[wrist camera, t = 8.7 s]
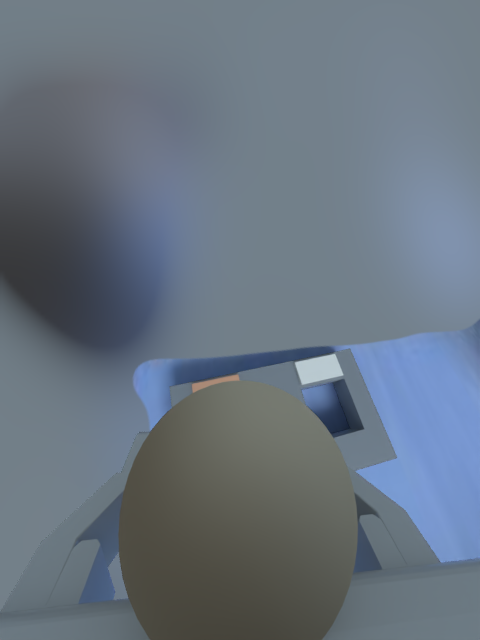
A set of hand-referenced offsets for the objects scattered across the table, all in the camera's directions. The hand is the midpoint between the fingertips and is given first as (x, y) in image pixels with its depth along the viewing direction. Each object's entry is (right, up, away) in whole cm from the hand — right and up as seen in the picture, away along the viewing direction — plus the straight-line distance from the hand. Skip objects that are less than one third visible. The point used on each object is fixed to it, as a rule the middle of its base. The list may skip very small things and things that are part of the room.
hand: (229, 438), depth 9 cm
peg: (-1, -3, +6) cm, 6 cm away
